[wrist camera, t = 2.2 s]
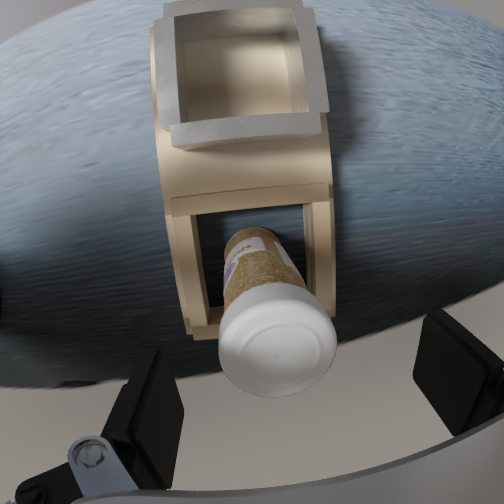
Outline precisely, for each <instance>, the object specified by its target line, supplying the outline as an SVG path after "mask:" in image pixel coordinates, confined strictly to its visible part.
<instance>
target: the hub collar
mask: <svg viewBox="0 0 504 504" xmlns="http://www.w3.org/2000/svg"><path fill="white" fill-rule="evenodd" d="M272 35H282V39H283V46H284V53H285V60H286V68H287V76H288V84H289V92H290V100H291V109H292V113H276V114H260V115H247V116H236V117H226V118H217V119H209V120H201V121H194V122H190V117H189V105H188V93H187V80H186V65H185V49H184V43H190V42H196V41H204V40H212V39H222V38H233V37H247V36H272ZM154 53H155V77H156V94H157V109H158V122H159V127H160V128H161V129H163V130H165V131H167V132H169V133H170V135H171V145H172V147H175V148H177V149H180V150H183V151H186V150H193V149H201V148H209V147H217V146H226V145H235V144H245V143H256V142H269V141H284V140H303V139H306V138H309V137H311V136H314V135H317V134H320V133H322V131H321V121H320V117H321V116H323V115H325V114H327V113H329V112H330V111H329V102H328V94H327V87H326V80H325V73H324V66H323V60H322V53H321V47H320V42H319V36H318V30H317V25H316V20H315V15H314V10H313V9H309V8H303V3H302V0H181V1H175V2H170V3H165V4H164V18H163V19H158V20H154Z"/></svg>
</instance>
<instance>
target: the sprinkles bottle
mask: <svg viewBox="0 0 504 504" xmlns="http://www.w3.org/2000/svg"><path fill="white" fill-rule="evenodd" d="M224 260H225V266H224V315H223V317H222V320H221V323H220V328H219V360H220V364H221V367H222V369H223V371H224V373H225V375H226V376H227V377H228V379H229V380H230V381H231V382H232V383H233V384H234V385H236V386H237V387H238V388H240V389H241V390H243V391H245V392H248V393H250V394H253V395H256V396H260V397H283V396H288V395H292V394H296V393H299V392H301V391H303V390H305V389H307V388H309V387H310V386H311V385H313V384H315V383H316V382H317V381H318V380H319V379H321V378H322V377H323V375H324V374H325V373H326V372H327V370H328V369H329V368H330V366H331V364H332V362H333V360H334V357H335V354H336V349H337V336H336V332H335V328H334V326H333V324H332V322H331V320H330V318H329V316H328V314H327V312H326V311H325V309H324V307H323V306H322V304H321V303H320V302H319V301H318V299H317V298H316V297H315V296H314V295H313V294H311V293H310V292H309V291H308V289H307V287H306V285H305V283H304V280H303V278H302V276H301V275H300V273H299V272H298V270H297V268H296V267H295V265H294V264H293V262H292V261H291V259H290V257H289V256H288V254H287V253H286V251H285V250H284V249H283V247H282V245H281V243H280V241H279V239H278V238H277V237H276V236H275V235H274V234H273V233H272V232H270V231H268V230H267V229H265V228H262V227H249V228H245V229H242V230H240V231H238V232H237V233H235V234H234V235H233V236H232V237H231V239H230V240H229V241H228V243H227V245H226V248H225V252H224Z"/></svg>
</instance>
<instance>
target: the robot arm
mask: <svg viewBox="0 0 504 504" xmlns="http://www.w3.org/2000/svg"><path fill="white" fill-rule="evenodd" d="M503 368H504V361H503V360H501V359H500V358H499V357H498V356H497V355H496V354H495V353H494V352H493V351H491V350H490V349H489V348H488V347H487V346H486V345H485V344H483V343H482V342H481V341H480V340H479V339H477V338H476V337H475V336H474V335H473V334H472V333H471V332H469V331H468V330H467V329H466V328H465V327H464V326H462V325H461V324H460V323H459V322H458V321H456V320H455V319H454V318H453V317H451V316H450V315H449V314H448V313H447V312H445V311H444V310H442V309H439V310H435V311H431V312H428V314H427V315H426V317H424V320H423V325H422V331H421V336H420V341H419V346H418V351H417V356H416V361H415V365H414V369H413V379H414V381H415V383H416V384H417V385H418V387H419V388H420V390H421V391H422V392H423V394H424V395H425V397H426V398H427V399H428V401H429V402H430V404H431V405H432V407H433V408H434V409H435V411H436V412H437V414H438V415H439V417H440V418H441V419H442V421H443V422H444V424H445V425H446V427H447V428H448V430H449V431H450V433H451V434H452V435H453V436H454V438H452V439H450V440H447V441H445V442H443V443H440V444H438V445H436V446H433V447H431V448H428V449H426V450H423V451H420V452H418V453H415V454H412V455H410V456H407V457H404V458H401V459H398V460H395V461H392V462H389V463H386V464H383V465H379V466H376V467H372V468H369V469H365V470H362V471H357V472H354V473H349V474H346V475H341V476H337V477H332V478H327V479H322V480H317V481H311V482H306V483H299V484H292V485H285V486H277V487H268V488H257V489H243V490H221V491H181V490H166V489H170V488H171V487H172V481H173V475H174V469H175V463H176V458H177V452H178V445H179V440H180V435H181V429H182V424H183V418H184V408H183V404H182V401H181V398H180V395H179V392H178V389H177V385H176V382H175V379H174V376H173V372H172V369H171V365H170V362H169V358H168V355H167V353H166V352H162V350H161V349H160V348H144V349H143V350H142V352H141V355H140V357H139V359H138V361H137V363H136V365H135V367H134V370H133V372H132V374H131V376H130V378H129V381H128V383H127V384H125V385H123V387H122V388H121V391H120V393H119V395H118V397H117V399H116V401H115V404H114V406H113V408H112V410H111V413H110V415H109V417H108V419H107V422H106V424H105V426H104V428H103V431H102V433H101V435H100V437H99V436H86V437H82V438H80V439H78V440H77V441H75V442H74V443H73V444H72V445H71V447H70V448H69V450H68V455H67V457H68V462H67V463H65V464H62V465H60V466H58V467H56V468H53V469H51V470H49V471H46V472H44V473H42V474H40V475H37V476H35V477H32V478H30V479H27V480H25V481H24V482H22V483H21V484H20V485H19V486H18V488H17V490H16V493H15V500H16V501H14V502H13V503H12V502H11V501H10V500H9V501H7V502H6V503H5V504H504V370H503Z"/></svg>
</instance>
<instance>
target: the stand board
mask: <svg viewBox="0 0 504 504" xmlns="http://www.w3.org/2000/svg"><path fill="white" fill-rule="evenodd" d="M184 49H185V65H186V80H187V93H188V105H189V117H190V122H194V121H201V120H209V119H217V118H226V117H236V116H247V115H260V114H276V113H292V109H291V100H290V92H289V84H288V76H287V68H286V60H285V53H284V46H283V39H282V35H272V36H247V37H233V38H222V39H212V40H204V41H196V42H190V43H184ZM150 53H151V79H152V97H153V111H154V124H155V136H156V146H157V156H158V165H159V174H160V182H161V190H162V198H163V205H164V212H165V219H166V226H167V232H168V239H169V245H170V251H171V257H172V262H173V268H174V273H175V279H176V284H177V289H178V294H179V300H180V304H181V309H182V314H183V319H184V323H185V328H186V333H187V334H193V337H194V340H206V339H217V338H219V328H220V323H221V320H222V317H223V315H224V306H219V307H210V306H209V300H208V294H207V288H206V281H205V275H204V268H203V262H202V255H201V248H200V241H199V234H198V227H197V219H196V215H197V214H205V213H213V212H222V211H231V210H240V209H249V208H259V207H269V206H279V205H290V204H301V203H302V204H303V219H304V236H305V256H306V279H307V289H308V291H309V292H310V293H311V294H313V295H314V296H315V297H316V298H317V299H318V301H319V302H320V303H321V304H322V306H323V307H324V309H325V311H326V312H327V314H328V316H329V318H330V320H331V322H332V317H335V311H336V252H335V219H334V198H333V181H332V167H331V155H330V143H329V133H328V123H327V114H325V115H323V116H321V117H320V121H321V131H322V133H320V134H317V135H314V136H311V137H309V138H306V139H303V140H284V141H269V142H256V143H245V144H235V145H226V146H217V147H209V148H201V149H193V150H186V151H183V150H180V149H177V148H175V147H172V145H171V135H170V133H169V132H167V131H165V130H163V129H161V128H160V127H159V122H158V109H157V94H156V77H155V53H154V27H153V28H150Z"/></svg>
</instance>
